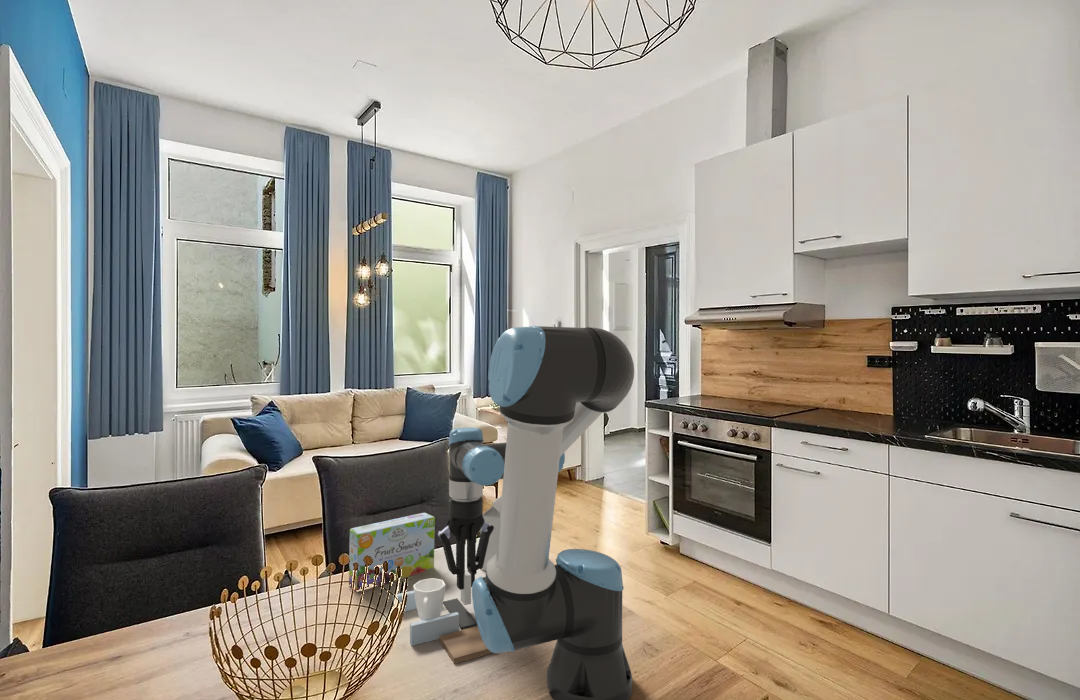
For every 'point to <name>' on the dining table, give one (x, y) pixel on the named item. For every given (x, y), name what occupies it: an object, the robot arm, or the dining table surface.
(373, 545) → the snack box
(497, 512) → the milk carton
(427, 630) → the channel
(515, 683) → the dining table surface
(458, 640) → the trivet
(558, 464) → the robot arm
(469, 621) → the mat
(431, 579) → the cup
